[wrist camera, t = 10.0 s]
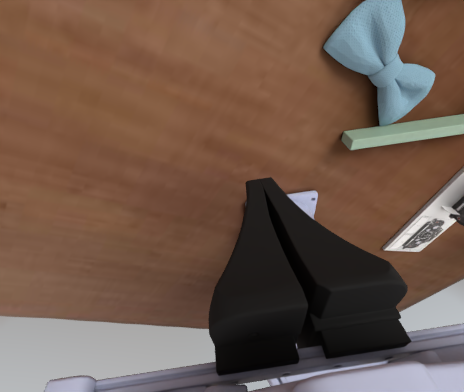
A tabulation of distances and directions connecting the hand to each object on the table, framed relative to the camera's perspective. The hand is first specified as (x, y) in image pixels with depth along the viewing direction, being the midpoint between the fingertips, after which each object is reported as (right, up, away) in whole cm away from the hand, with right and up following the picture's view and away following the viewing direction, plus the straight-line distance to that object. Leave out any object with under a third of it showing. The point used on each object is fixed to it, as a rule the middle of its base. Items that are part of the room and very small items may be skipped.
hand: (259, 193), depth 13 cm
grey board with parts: (+26, -2, +19) cm, 32 cm away
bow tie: (+10, +10, +5) cm, 15 cm away
